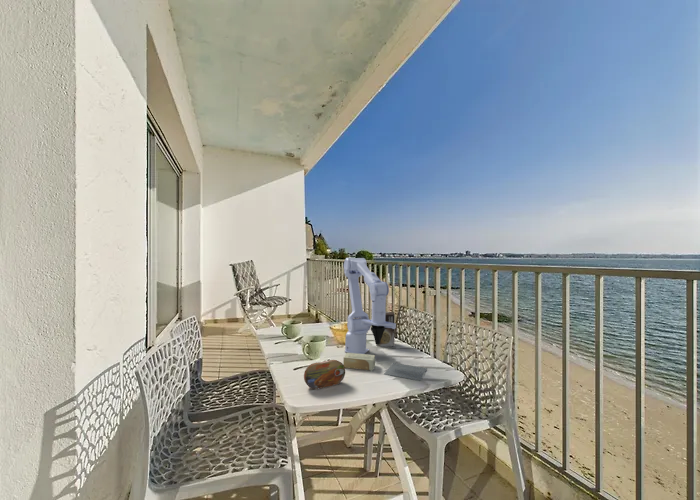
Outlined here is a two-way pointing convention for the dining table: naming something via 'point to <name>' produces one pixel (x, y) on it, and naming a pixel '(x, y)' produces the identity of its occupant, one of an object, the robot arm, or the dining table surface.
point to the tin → (324, 374)
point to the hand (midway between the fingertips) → (377, 343)
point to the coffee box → (388, 331)
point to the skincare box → (359, 361)
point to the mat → (406, 371)
